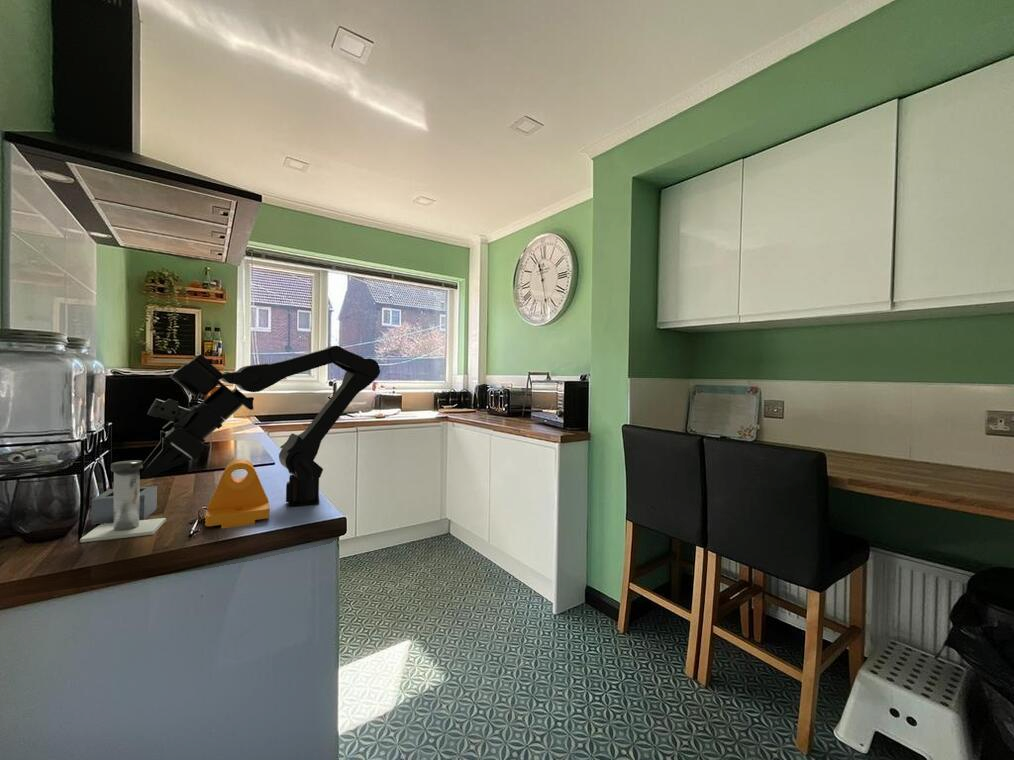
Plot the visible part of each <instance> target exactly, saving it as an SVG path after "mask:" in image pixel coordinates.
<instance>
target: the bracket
mask: <svg viewBox="0 0 1014 760" xmlns="http://www.w3.org/2000/svg"><path fill="white" fill-rule="evenodd" d="M240 469H242V470H245V471H246V472H247V474H246V476H244V477H243V478H234V477H233V476H232V473H233V472H235V471H236V470H240ZM270 509H271V506H270V503H269V498H268V496H267V494H266V492H265V489H264V488H263V485H262V483H261V480H260V478H259V476H258V474H257V471H256V469H255V467H254V464H253V463H252V462H251V461H250V460H247V459H244V458H238V459H233V460H232V461H230V462H229V463H228V464H227V465H226V466H225V468H224V471H223V473H222V474H221V476H220V479H219V481H218V484H217V486H216V488H215V490H214V492H213V494H212V496H211V499H210V501H209V503H208V505H207V508H206V513H205V518H204V519H205V520H204V521H205V522H204V523H205V527H214V526H220V527H221V529H227V528H228V529H229V528H234V527H235V528H236V527H242V526H247V525H248V526H249V525H255V524H256V520H264V519H268V518H270V513H271V512H270V511H271V510H270Z"/></svg>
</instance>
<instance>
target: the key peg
mask: <svg viewBox="0 0 1014 760" xmlns="http://www.w3.org/2000/svg"><path fill="white" fill-rule="evenodd" d="M143 463H144V462H143V460H139V459H135V460H134V459H133V460H132V459H131V460H123V461H116V462H112V463H110V471H111V472H113V489H114V521H113V530H114V531H125V530H130V529H134V528H137V527H138V526H139V502H140V487H141V486H140V484H141V483H140V481H141V480H140V477H141V475H140V474H141V471H140V469H144V468H143Z"/></svg>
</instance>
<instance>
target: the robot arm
mask: <svg viewBox="0 0 1014 760" xmlns="http://www.w3.org/2000/svg"><path fill="white" fill-rule="evenodd" d="M330 364H333V365H334V366H337V367H338V368H340V369H341V370H343V371H344V372H345V373H344V376H343V379H342V381H341V382H342V383H341V384H340V386H339V387H338V388H337V390H336V391H335V392H334V393H333V394H332V395H331V397H330V399H329V400H328V401H327V402H326V403H325V405H324V406H323V407H322V409H320V411H319V412H318V414H317V415H316V416H315V418H314V419H313V420H312V421H311V422H310V424H309V425H308V426H307V428H306V429H305V430H304V431H303V432H301V433H300V434H298V435H297V434H295V433H294V432H293V433H290V435H289V436H288V438H287V440H286V441H285V442H284V444H282V445H281V446H279V448H280V452H279V454H278V459H279V463H280V465H281V466H283V467H284V468H286V469H287V471H288V473H289V474H290V475H289V478H288V479H289V481H287V482H286V488H285V489H286V491H285V502H286V503H287V506H288V507H296V506H306V505H307V506H309V505H315V504H317V505H318V504H320V478H321V476H322V474H323V471H324V469H323V467H322V466H321V465H319V464H318V463H317V462H316V461H314V460H315V459H316V457H317V454H318V452H319V449H320V446H321V443H322V441H323V439H324V438H325V437H326V436H327V434H328V432H330V430H331V429H332V428H333V426H335V424H336V423H337V421H338V420H339V418H340V417H341V415H343V413H344V412H345V411H346V409H347V408H348V406H349V405H350V404H351V402H353V400H354V398H355V397H356V396H357V395H358V394H359V393H360V392H362V391H363V390H365V389H366V388H367V387H369V386H370V385H372V383H373V382H374V381H376V380H377V378H379V376H380V374H381V368H380V365H379V363H378V361H376V359H374V358H369V357H367V358H365V357H362V356H360V355H359V354H356V353H354V352H351V351H349V350H347V349H345V348H343V347H341V346H340V345H330V346H327V347H325V348H323V349H319V350H316V351H313V352H308V353H305V354H302V355H298V356H295V357H292V358H288V359H285V360H282V361H281V360H280V361H276V362H269V363H268V362H267V363H260V364H251V365H245V366H241V367H240V368H239V369H237V371H234V372H230V371H224V372H223V373H222V372H221V371H220V370H219V369H217V368H216V367H215V366H214V365H213V364H211V362H209V360H208V359H207V358H206V357H205V356H204V355H203V354H198V355H197V356H196V357H195V358H193V359H192V360H189V362H187V363H185V364H183V365H182V366H180V367H179V368H178V369H177V370H175V371H174V372H173V373H172V374H170V375H169V378H171V379H172V380H173V381H174V382H175V383H177V384H178V385H180V386H181V387H182V388H183V389H184V390H185V391H187V392H188V393H190V394H191V395H192V396H193V397H196V396H197V395H199V394H200V395H201V396H202V397H205V396H206V395H207V394H209V393H210V392H211V391H213V390H214V389H215V388H216V387H217V386H219V387H218V388H216V389H215V390H214V391H213V392H212V393H210V394H209V396H207V397H206V398H205V399H204V400H203V401H201V402H200V403H199V404H197V405H192V406H191V407H190V408H186V407H182V406H180V405H179V401H178V400H174V399H171V398H168V399H167V400H162V399H159V398H155V399H154V401H153V403H152V404H151V406H150V408H149V409H148V412H147V415H148V416H150V417H153V418H160V419H163V420H166V421H168V423H166V424H165V425H164V426H163V427H162V429H163V430H160V441H159V443H158V444H157V445H156V447H155V448H154V449H153V450H152V452H151V453H150V454H149V456H147V458H146V459H145V460H144V462H143V468H142V469H143V471H142V472H141V473H140V474H141V475H140V477H142V478H144V479H148V478H150V477H153V476H155V475H157V474H160V473H162V472H164V471H167V470H169V469H172V468H174V467H176V466H179V465H181V464H184V463H187V462H191V461H192V460H193V459H198V457H200V455H202V454H203V453H204V452H205V442H206V438H208V437H209V436H210V435H211V434H212V433H213V432H214V431H216V430H217V429H218V430H219V429H221V427H223V423H225V422H226V421H227V420H228V419H229V418H230V417H231V416H233V415H234V413H236V412H237V411H238V410H239V409H241V408H242V407H244V408H246V409H247V410H250V411H253V410H254V399H255V398H254V397H252V396H246V395H245V394H244V393H242V392H241V391H240V390H242V391H245V392H250V393H259V392H262V391H263V390H265V389H268V388H269V387H270V388H271V386H273V385H275V384H276V383H279V382H281V381H282V380H283V379H286V378H288V377H292V376H294V375H297V374H301V373H304V372H308V371H311V370H313V369H317V368H320V367H323V366H327V365H330ZM220 380H221V381H222V382H221V381H220ZM224 383H226V384H229V385H230V384H232V385H236V386H237V388H234V389H232V390H231V389H230V388H228V387H227V385H225V384H224ZM238 388H239V389H240V390H239V389H238Z"/></svg>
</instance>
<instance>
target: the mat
mask: <svg viewBox="0 0 1014 760" xmlns="http://www.w3.org/2000/svg"><path fill="white" fill-rule="evenodd" d="M166 521H167V518H166V517H161V518H159V517H158V518H150V519H145V520H139V526H138V527H137V528H134V529H130V530H125V531H114V530H113V523H108V524H100V525H97V526H96V527H94V528H93V529H92V530H91V531H89V532H87V534H85V535H84V536H83V537H81V538H80V539H79V543H87V542H98V541H106V540H115V539H116V540H117V539H123V538H125V539H126V538H133V537H141V536H142V537H143V536H151V535H154V534H155V533H156V532H157V531H158V530H159V528H161V527H162V526H163V525H164V524H165V522H166Z"/></svg>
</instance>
